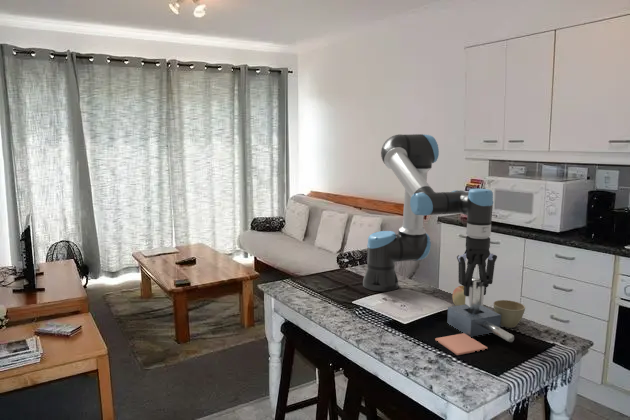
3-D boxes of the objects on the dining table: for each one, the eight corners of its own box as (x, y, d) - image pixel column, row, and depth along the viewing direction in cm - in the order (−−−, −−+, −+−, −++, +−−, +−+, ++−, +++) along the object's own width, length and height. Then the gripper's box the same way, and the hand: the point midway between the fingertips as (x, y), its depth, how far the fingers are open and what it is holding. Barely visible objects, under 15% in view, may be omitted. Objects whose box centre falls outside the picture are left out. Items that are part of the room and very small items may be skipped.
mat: (435, 340, 146) (435, 338, 146) (463, 334, 150) (463, 333, 150) (457, 355, 136) (457, 353, 136) (487, 349, 140) (487, 347, 140)
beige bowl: (526, 331, 153) (528, 311, 151) (495, 329, 154) (496, 309, 153) (520, 320, 162) (521, 300, 161) (490, 318, 164) (491, 298, 163)
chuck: (447, 323, 159) (447, 307, 158) (475, 318, 163) (476, 302, 162) (494, 352, 138) (495, 333, 137) (525, 346, 142) (527, 327, 141)
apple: (453, 302, 179) (454, 282, 178) (477, 306, 176) (479, 286, 174) (450, 310, 172) (451, 289, 170) (475, 314, 168) (476, 293, 167)
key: (473, 324, 152) (475, 283, 149) (463, 315, 158) (465, 276, 156) (483, 323, 152) (486, 282, 150) (473, 315, 159) (475, 276, 157)
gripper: (460, 239, 145) (456, 310, 149) (508, 237, 149) (503, 306, 152) (449, 234, 153) (445, 302, 157) (494, 232, 156) (490, 299, 160)
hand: (474, 304), depth 154 cm, fingers closed on key, 4 cm apart
